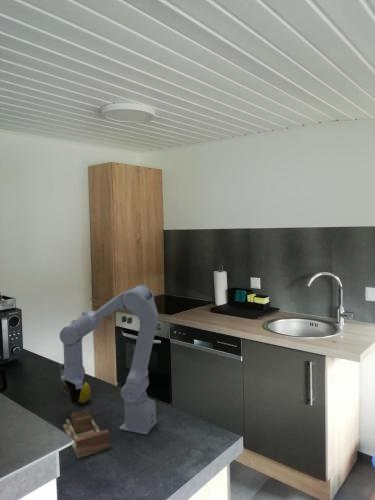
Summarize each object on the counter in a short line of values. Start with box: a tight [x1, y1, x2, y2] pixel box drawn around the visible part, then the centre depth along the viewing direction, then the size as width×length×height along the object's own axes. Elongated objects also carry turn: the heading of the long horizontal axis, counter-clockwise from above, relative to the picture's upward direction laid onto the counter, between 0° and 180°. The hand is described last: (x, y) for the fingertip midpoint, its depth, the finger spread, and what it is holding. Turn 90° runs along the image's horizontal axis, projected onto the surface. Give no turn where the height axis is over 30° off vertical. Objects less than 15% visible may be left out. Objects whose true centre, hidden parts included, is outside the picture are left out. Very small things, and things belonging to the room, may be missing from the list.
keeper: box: [70, 409, 93, 433], centre depth 117 cm, size 5×5×4 cm
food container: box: [59, 363, 86, 395], centre depth 144 cm, size 12×6×10 cm, turn 47°
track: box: [62, 417, 111, 460], centre depth 113 cm, size 18×9×5 cm, turn 30°
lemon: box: [78, 381, 92, 404], centre depth 135 cm, size 6×6×8 cm
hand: (74, 402), depth 123 cm, fingers closed
